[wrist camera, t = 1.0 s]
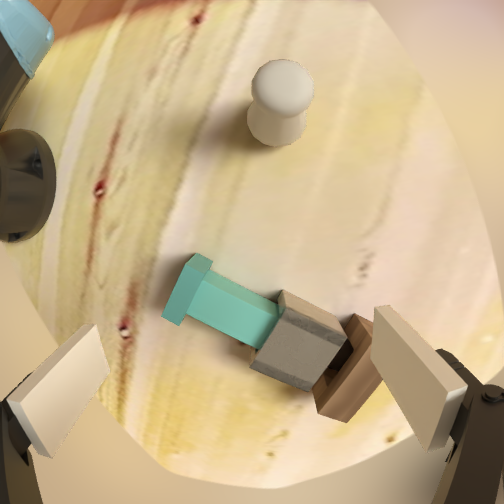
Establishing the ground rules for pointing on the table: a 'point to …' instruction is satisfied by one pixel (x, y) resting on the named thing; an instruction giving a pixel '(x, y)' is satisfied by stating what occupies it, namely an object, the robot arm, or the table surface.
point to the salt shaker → (280, 102)
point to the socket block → (349, 376)
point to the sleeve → (298, 343)
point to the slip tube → (220, 304)
